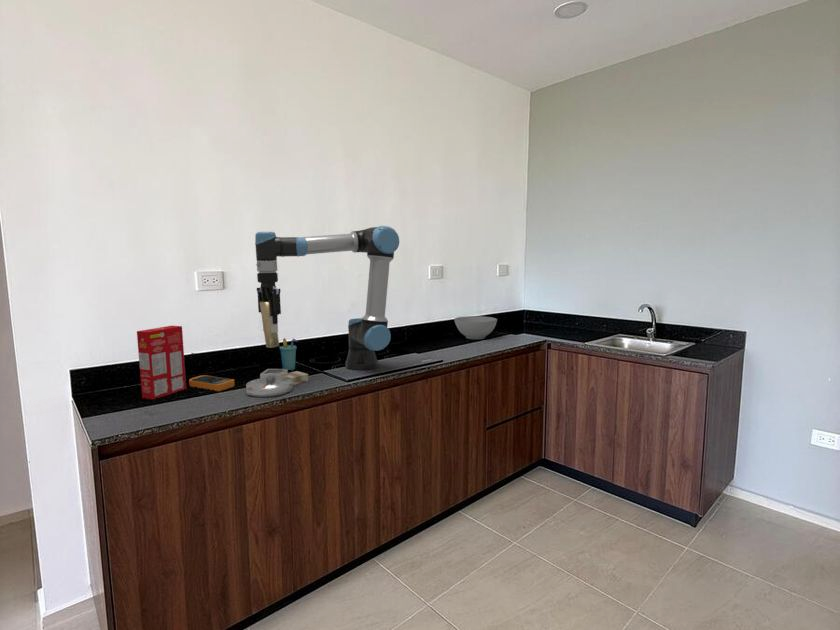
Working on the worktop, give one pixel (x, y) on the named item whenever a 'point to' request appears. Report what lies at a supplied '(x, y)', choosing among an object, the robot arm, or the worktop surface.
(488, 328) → the decorative bowl
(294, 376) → the key block
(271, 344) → the tan cylinder
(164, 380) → the food packaging
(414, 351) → the worktop surface
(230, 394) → the worktop surface
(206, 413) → the worktop surface
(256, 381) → the grey flat rounded piece
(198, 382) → the multimeter
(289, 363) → the cup
